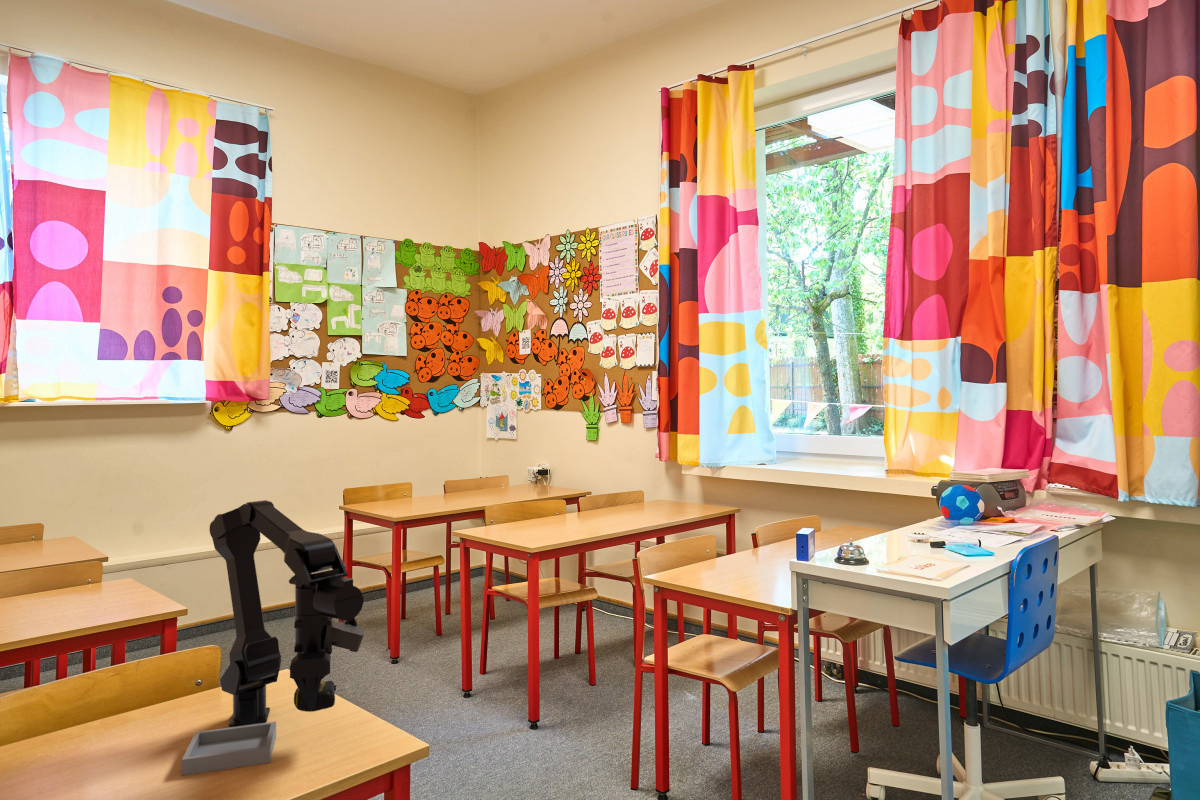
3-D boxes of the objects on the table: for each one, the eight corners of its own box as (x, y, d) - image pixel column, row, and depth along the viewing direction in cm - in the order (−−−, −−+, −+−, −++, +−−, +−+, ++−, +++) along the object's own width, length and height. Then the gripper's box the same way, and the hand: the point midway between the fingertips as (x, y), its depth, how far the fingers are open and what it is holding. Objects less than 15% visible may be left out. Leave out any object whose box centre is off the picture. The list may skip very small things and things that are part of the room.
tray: (195, 746, 130) (195, 731, 130) (276, 735, 134) (276, 721, 134) (181, 775, 119) (181, 759, 119) (269, 762, 123) (269, 747, 123)
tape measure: (335, 713, 128) (335, 691, 128) (292, 718, 126) (292, 696, 126) (336, 698, 134) (336, 677, 134) (295, 703, 132) (295, 682, 132)
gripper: (361, 621, 124) (362, 715, 123) (360, 595, 141) (361, 677, 141) (289, 627, 120) (289, 724, 120) (297, 600, 138) (297, 684, 138)
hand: (313, 701), depth 130 cm, fingers closed on tape measure, 7 cm apart
